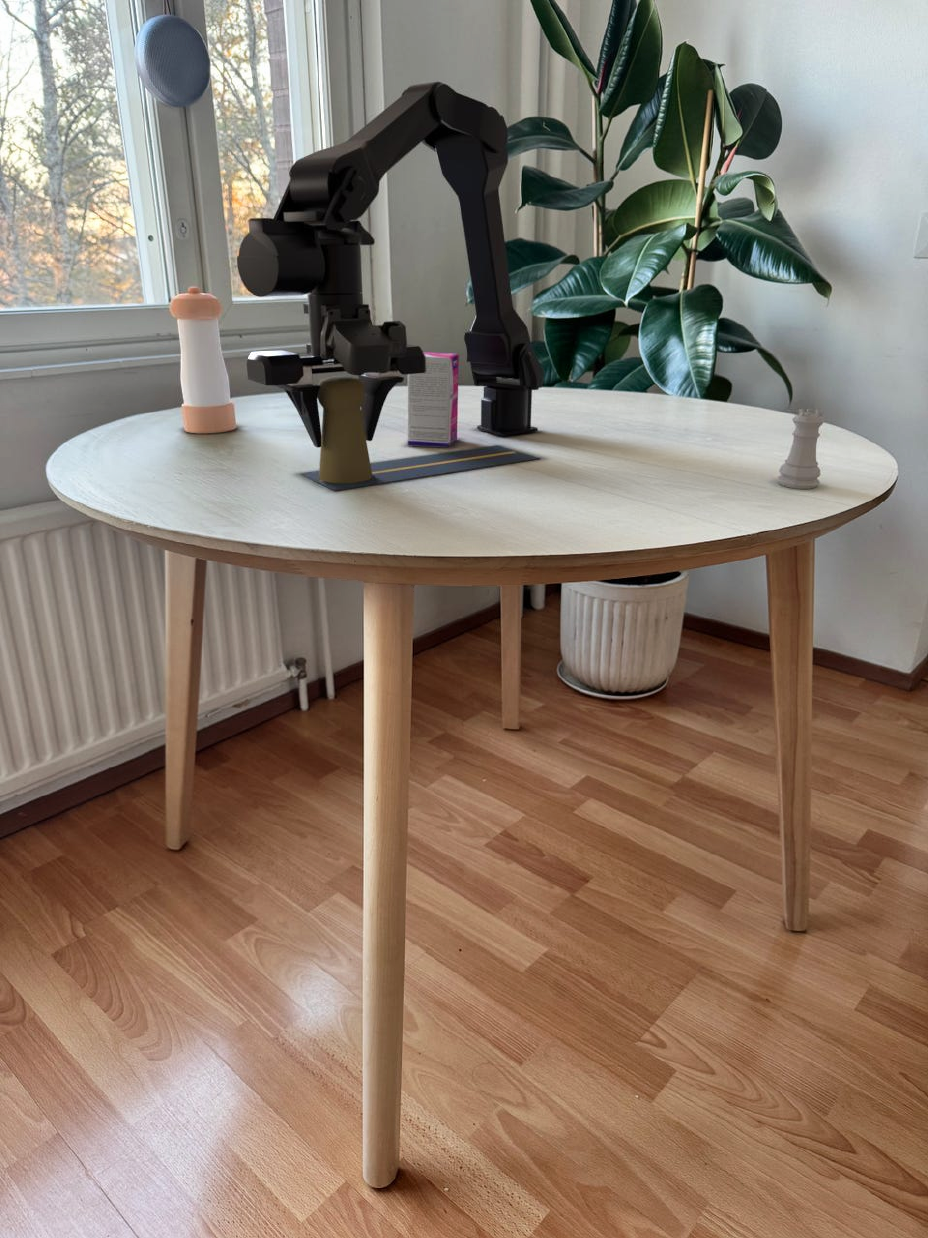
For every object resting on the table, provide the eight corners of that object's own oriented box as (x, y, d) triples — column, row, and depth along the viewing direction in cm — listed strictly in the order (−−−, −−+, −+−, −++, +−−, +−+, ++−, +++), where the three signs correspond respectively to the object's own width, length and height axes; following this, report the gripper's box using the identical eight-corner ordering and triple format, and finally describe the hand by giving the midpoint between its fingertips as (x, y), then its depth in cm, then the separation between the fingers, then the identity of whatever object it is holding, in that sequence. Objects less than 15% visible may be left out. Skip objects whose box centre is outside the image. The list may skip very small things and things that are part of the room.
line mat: (497, 445, 110) (497, 445, 110) (540, 458, 103) (540, 457, 103) (300, 474, 96) (300, 473, 96) (334, 491, 89) (334, 490, 89)
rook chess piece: (814, 491, 89) (828, 416, 86) (771, 485, 91) (783, 411, 88) (822, 482, 92) (836, 409, 89) (781, 477, 95) (792, 406, 91)
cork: (320, 470, 97) (314, 372, 92) (372, 469, 97) (368, 372, 93) (316, 483, 91) (309, 380, 87) (372, 482, 92) (367, 380, 87)
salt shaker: (233, 432, 118) (218, 287, 110) (180, 434, 117) (160, 287, 109) (238, 423, 124) (223, 285, 117) (188, 424, 123) (170, 285, 116)
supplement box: (450, 448, 109) (450, 356, 104) (406, 445, 110) (404, 355, 105) (459, 439, 114) (459, 351, 109) (417, 437, 115) (415, 350, 110)
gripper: (279, 299, 75) (293, 468, 82) (452, 294, 85) (453, 446, 91) (237, 294, 84) (253, 448, 90) (398, 290, 93) (402, 430, 100)
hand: (343, 443), depth 93 cm, fingers open, 6 cm apart
